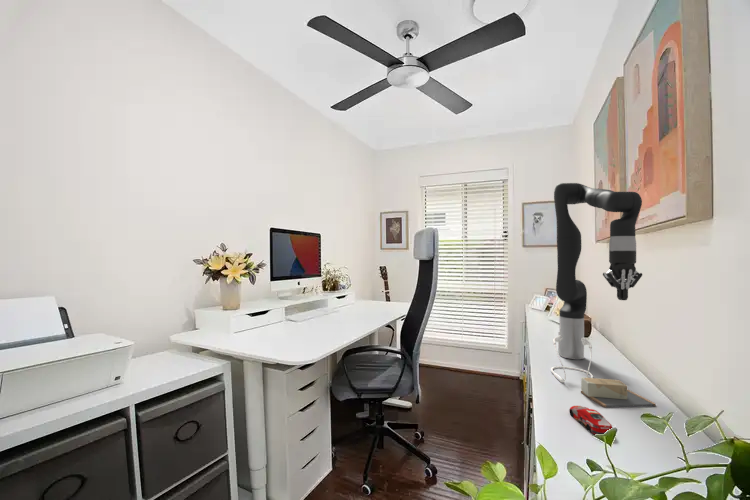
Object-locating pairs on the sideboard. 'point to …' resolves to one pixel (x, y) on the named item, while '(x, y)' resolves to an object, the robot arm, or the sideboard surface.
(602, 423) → the race car
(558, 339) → the earphone
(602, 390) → the box
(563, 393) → the sideboard surface
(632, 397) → the mat
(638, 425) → the sideboard surface
